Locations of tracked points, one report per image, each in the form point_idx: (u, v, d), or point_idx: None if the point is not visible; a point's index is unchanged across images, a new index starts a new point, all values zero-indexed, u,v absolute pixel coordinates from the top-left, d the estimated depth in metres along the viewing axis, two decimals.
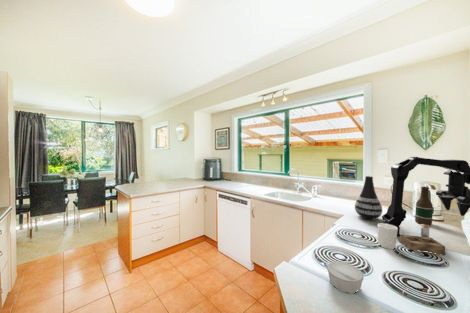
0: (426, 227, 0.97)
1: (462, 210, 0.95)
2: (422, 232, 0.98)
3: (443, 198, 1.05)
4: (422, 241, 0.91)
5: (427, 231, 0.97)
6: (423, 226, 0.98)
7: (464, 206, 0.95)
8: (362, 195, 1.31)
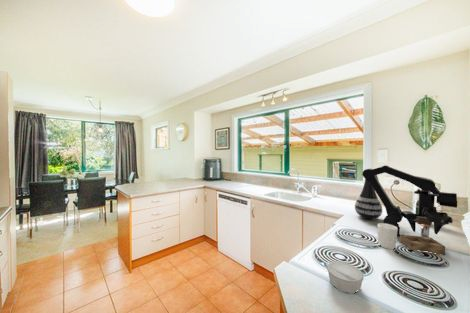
0: (426, 227, 0.97)
1: (410, 225, 1.01)
2: (422, 232, 0.98)
3: None
4: (422, 241, 0.91)
5: (427, 231, 0.97)
6: (423, 226, 0.98)
7: (411, 221, 1.00)
8: (362, 195, 1.31)
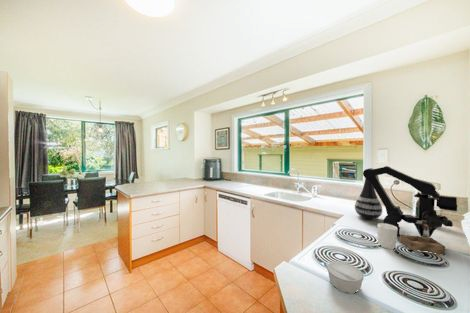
0: (426, 227, 0.97)
1: (417, 229, 1.00)
2: None
3: (427, 223, 1.00)
4: (422, 241, 0.91)
5: (427, 231, 0.97)
6: (423, 226, 0.98)
7: (418, 225, 0.99)
8: (362, 195, 1.31)
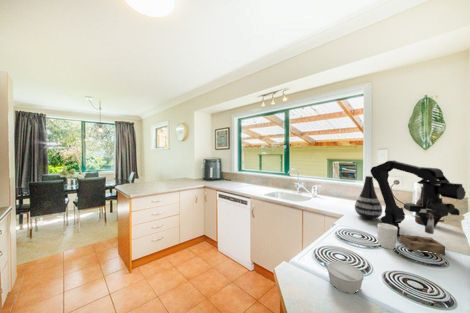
0: (431, 216, 0.90)
1: (421, 218, 0.93)
2: None
3: (432, 212, 0.92)
4: (422, 241, 0.91)
5: (431, 220, 0.90)
6: None
7: (422, 215, 0.92)
8: (362, 195, 1.31)
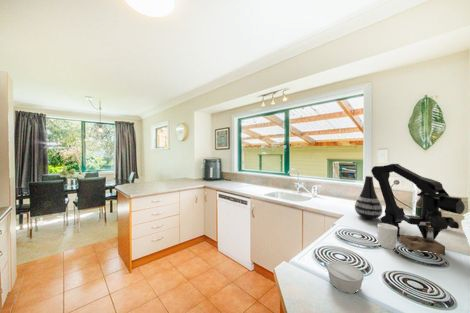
0: (430, 229, 0.90)
1: (420, 231, 0.93)
2: (426, 234, 0.91)
3: (432, 225, 0.93)
4: (422, 241, 0.91)
5: (431, 233, 0.90)
6: (427, 228, 0.91)
7: (421, 227, 0.92)
8: (362, 195, 1.31)
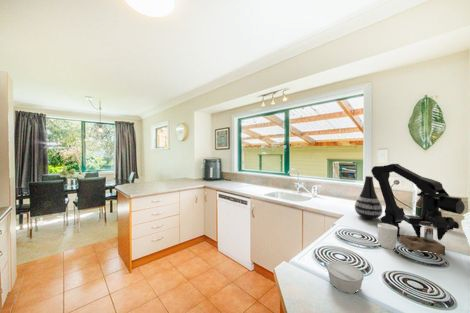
0: (429, 230, 0.90)
1: (415, 230, 0.94)
2: (425, 236, 0.92)
3: None
4: (422, 241, 0.91)
5: (430, 235, 0.90)
6: (426, 229, 0.91)
7: (415, 227, 0.93)
8: (362, 195, 1.31)
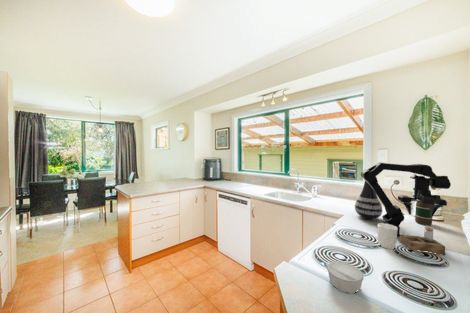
0: (430, 231, 0.90)
1: (406, 208, 1.06)
2: (425, 236, 0.92)
3: (430, 204, 1.03)
4: (422, 241, 0.91)
5: (430, 235, 0.90)
6: (426, 229, 0.91)
7: None
8: (362, 195, 1.31)
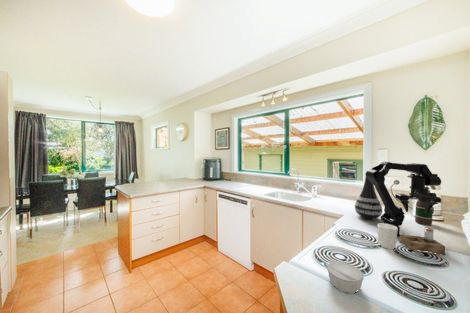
0: (430, 231, 0.90)
1: None
2: (426, 236, 0.91)
3: (425, 201, 1.08)
4: (422, 241, 0.91)
5: (431, 235, 0.90)
6: (427, 230, 0.91)
7: (404, 203, 1.10)
8: (362, 195, 1.31)
